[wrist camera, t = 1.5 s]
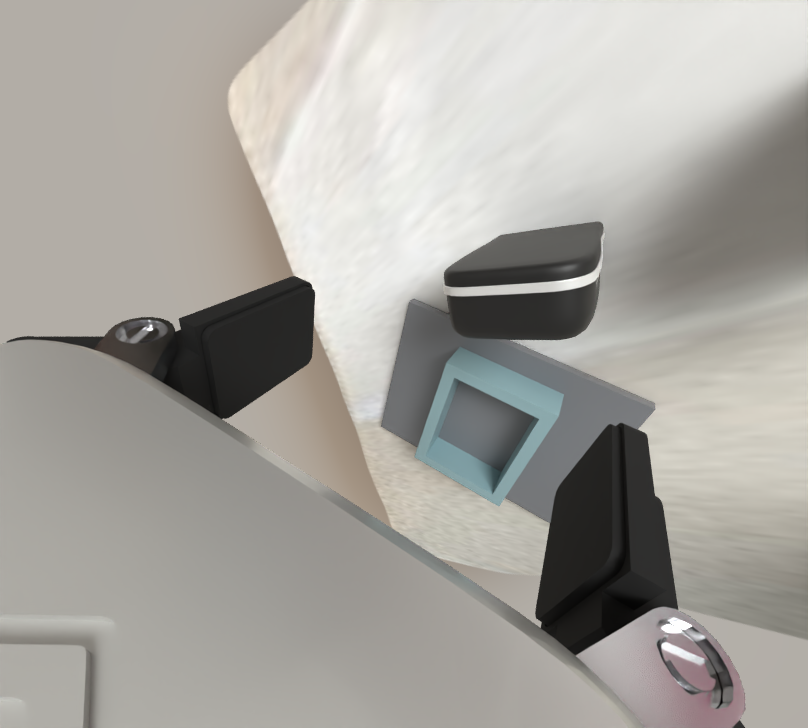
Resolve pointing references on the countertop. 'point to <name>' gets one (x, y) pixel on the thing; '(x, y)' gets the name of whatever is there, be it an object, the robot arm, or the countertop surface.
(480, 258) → the black hard case
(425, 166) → the countertop surface
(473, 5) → the countertop surface
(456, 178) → the countertop surface
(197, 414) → the robot arm
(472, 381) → the charging dock
